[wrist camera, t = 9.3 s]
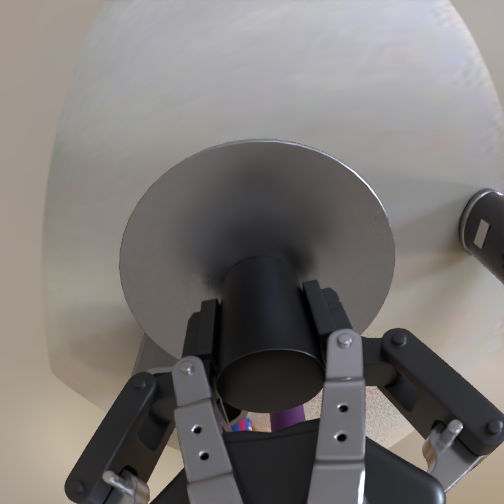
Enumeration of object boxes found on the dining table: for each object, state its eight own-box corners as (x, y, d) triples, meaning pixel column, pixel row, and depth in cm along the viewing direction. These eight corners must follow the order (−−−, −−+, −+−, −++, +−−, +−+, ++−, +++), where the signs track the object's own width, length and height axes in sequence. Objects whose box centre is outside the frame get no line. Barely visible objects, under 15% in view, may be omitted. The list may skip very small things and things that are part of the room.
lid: (380, 118, 12) (483, 143, 6) (379, 340, 19) (416, 421, 13) (88, 181, 13) (-1, 246, 7) (178, 376, 20) (166, 463, 14)
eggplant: (298, 381, 42) (310, 447, 32) (301, 398, 45) (312, 459, 34) (265, 387, 43) (271, 453, 32) (270, 403, 45) (276, 465, 35)
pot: (233, 297, 34) (232, 359, 26) (255, 370, 40) (259, 426, 32) (129, 314, 35) (107, 370, 26) (168, 380, 41) (159, 432, 33)
